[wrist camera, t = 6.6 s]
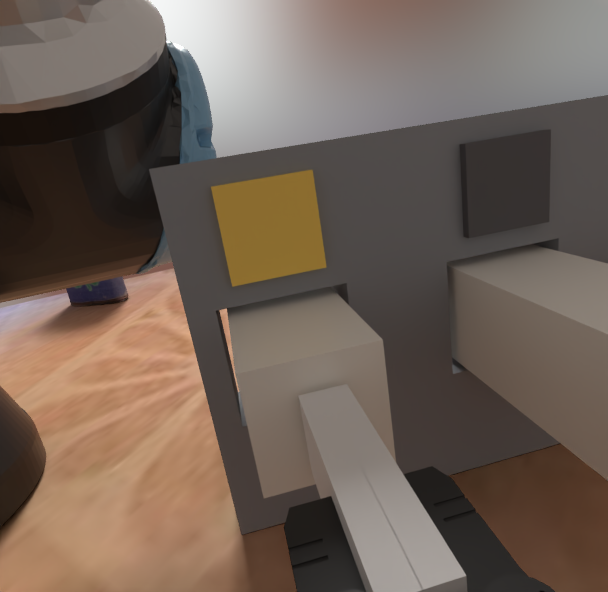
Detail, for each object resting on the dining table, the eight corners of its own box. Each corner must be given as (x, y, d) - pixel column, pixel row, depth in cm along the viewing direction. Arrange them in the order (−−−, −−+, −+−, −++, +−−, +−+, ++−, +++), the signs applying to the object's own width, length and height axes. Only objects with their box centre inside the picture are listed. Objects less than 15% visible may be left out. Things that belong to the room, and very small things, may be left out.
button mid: (614, 486, 12) (625, 341, 11) (434, 342, 22) (428, 257, 21) (744, 445, 13) (771, 304, 12) (513, 323, 23) (513, 239, 22)
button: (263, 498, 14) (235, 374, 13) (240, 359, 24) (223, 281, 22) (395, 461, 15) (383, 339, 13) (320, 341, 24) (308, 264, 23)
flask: (132, 296, 63) (110, 220, 59) (119, 304, 60) (95, 225, 57) (79, 300, 65) (55, 227, 62) (64, 307, 63) (38, 232, 59)
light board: (242, 542, 20) (147, 169, 15) (232, 433, 28) (168, 167, 23) (737, 398, 24) (794, 64, 19) (604, 339, 31) (619, 94, 26)
